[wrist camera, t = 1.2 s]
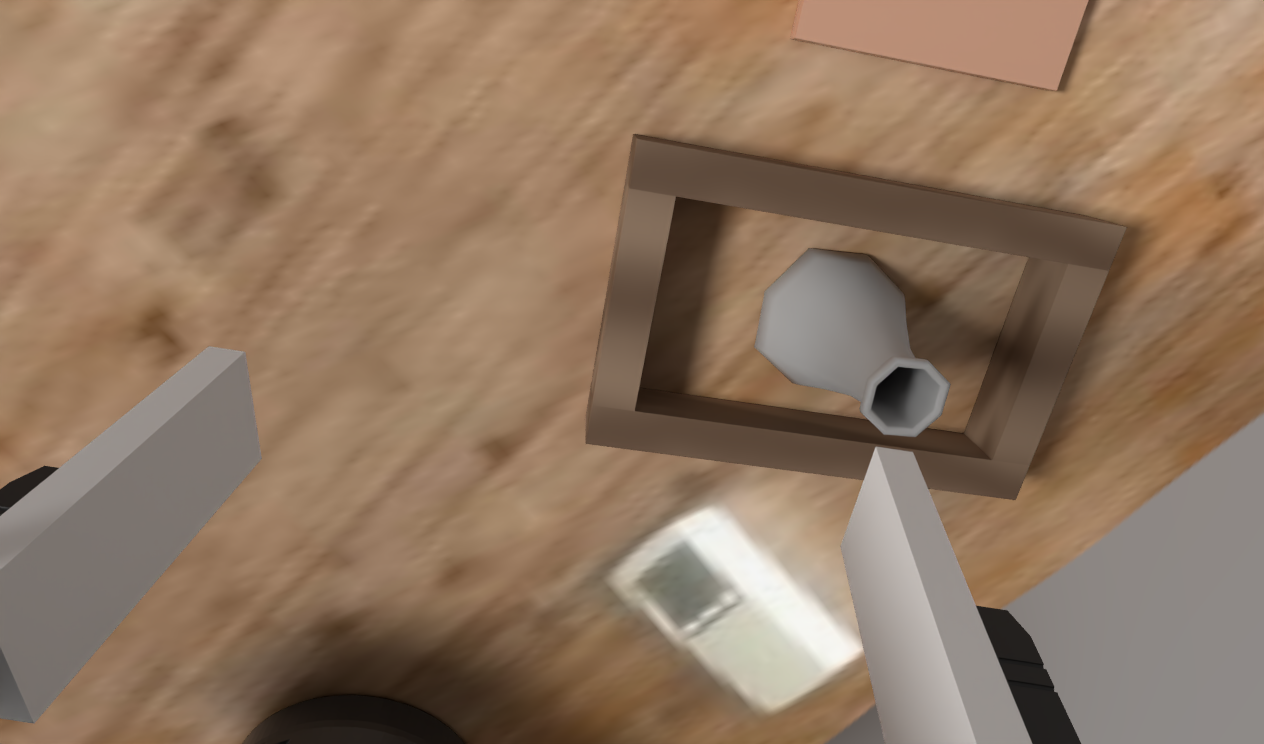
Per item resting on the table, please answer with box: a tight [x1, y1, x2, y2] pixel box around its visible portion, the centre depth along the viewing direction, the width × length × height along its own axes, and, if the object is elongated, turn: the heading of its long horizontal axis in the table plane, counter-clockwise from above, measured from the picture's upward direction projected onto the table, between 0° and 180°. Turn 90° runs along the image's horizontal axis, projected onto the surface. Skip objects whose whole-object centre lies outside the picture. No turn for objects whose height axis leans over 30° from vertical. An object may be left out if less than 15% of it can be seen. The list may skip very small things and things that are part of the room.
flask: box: [754, 248, 950, 437], centre depth 33 cm, size 7×7×10 cm
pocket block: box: [586, 134, 1127, 500], centre depth 36 cm, size 14×22×3 cm, turn 80°
